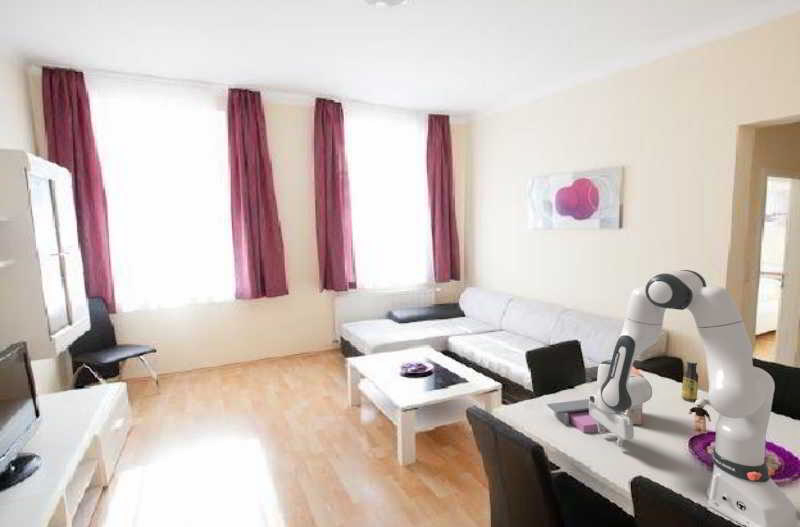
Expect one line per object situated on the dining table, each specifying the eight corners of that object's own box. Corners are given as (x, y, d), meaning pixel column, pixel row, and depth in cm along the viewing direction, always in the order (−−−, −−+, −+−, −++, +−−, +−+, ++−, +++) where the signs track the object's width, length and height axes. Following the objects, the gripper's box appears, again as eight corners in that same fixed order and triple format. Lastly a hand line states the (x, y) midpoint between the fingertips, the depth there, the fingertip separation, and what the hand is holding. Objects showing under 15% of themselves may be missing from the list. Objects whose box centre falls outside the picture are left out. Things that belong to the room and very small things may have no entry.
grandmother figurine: (712, 432, 161) (713, 400, 160) (709, 435, 159) (711, 403, 157) (689, 425, 167) (690, 394, 166) (686, 428, 164) (687, 397, 163)
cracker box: (643, 425, 168) (644, 375, 166) (626, 424, 169) (627, 374, 167) (631, 410, 181) (632, 363, 179) (616, 409, 182) (617, 363, 180)
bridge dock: (603, 420, 173) (603, 408, 172) (559, 426, 169) (559, 413, 169) (589, 410, 182) (589, 398, 182) (547, 415, 178) (547, 404, 178)
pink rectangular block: (603, 431, 165) (603, 422, 165) (583, 434, 163) (583, 425, 163) (580, 414, 180) (580, 406, 179) (561, 417, 178) (561, 409, 178)
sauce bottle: (679, 398, 191) (680, 360, 190) (686, 396, 194) (687, 358, 192) (692, 403, 186) (694, 364, 184) (700, 400, 188) (701, 362, 187)
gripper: (638, 414, 144) (638, 452, 145) (600, 392, 164) (599, 425, 165) (622, 416, 143) (622, 455, 144) (585, 393, 163) (585, 427, 164)
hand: (610, 439), depth 155 cm, fingers open, 8 cm apart
